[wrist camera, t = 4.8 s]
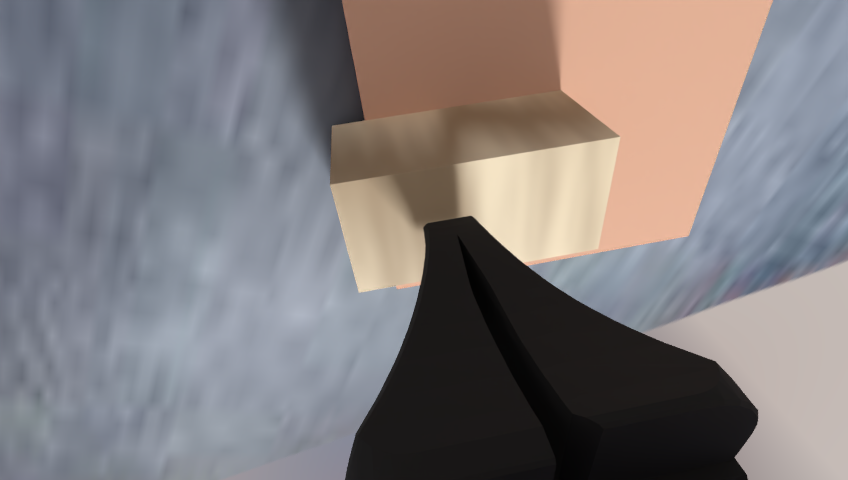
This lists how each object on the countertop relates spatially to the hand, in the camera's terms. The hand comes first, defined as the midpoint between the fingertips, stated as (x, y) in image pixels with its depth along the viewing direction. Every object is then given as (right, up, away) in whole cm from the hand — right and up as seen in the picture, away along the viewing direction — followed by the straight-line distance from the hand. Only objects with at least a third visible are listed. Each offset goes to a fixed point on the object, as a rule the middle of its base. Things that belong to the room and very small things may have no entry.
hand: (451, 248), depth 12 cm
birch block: (-3, +1, +2) cm, 4 cm away
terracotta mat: (+4, +4, +5) cm, 7 cm away
